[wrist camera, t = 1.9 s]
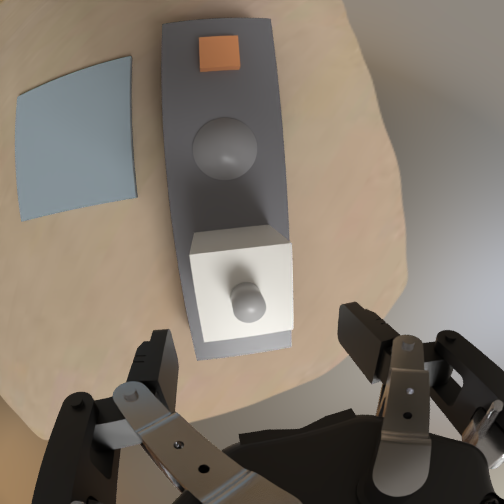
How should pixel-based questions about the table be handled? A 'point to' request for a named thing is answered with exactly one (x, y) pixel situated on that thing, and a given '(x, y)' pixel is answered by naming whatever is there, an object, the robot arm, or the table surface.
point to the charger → (242, 282)
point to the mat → (76, 141)
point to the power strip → (222, 147)
